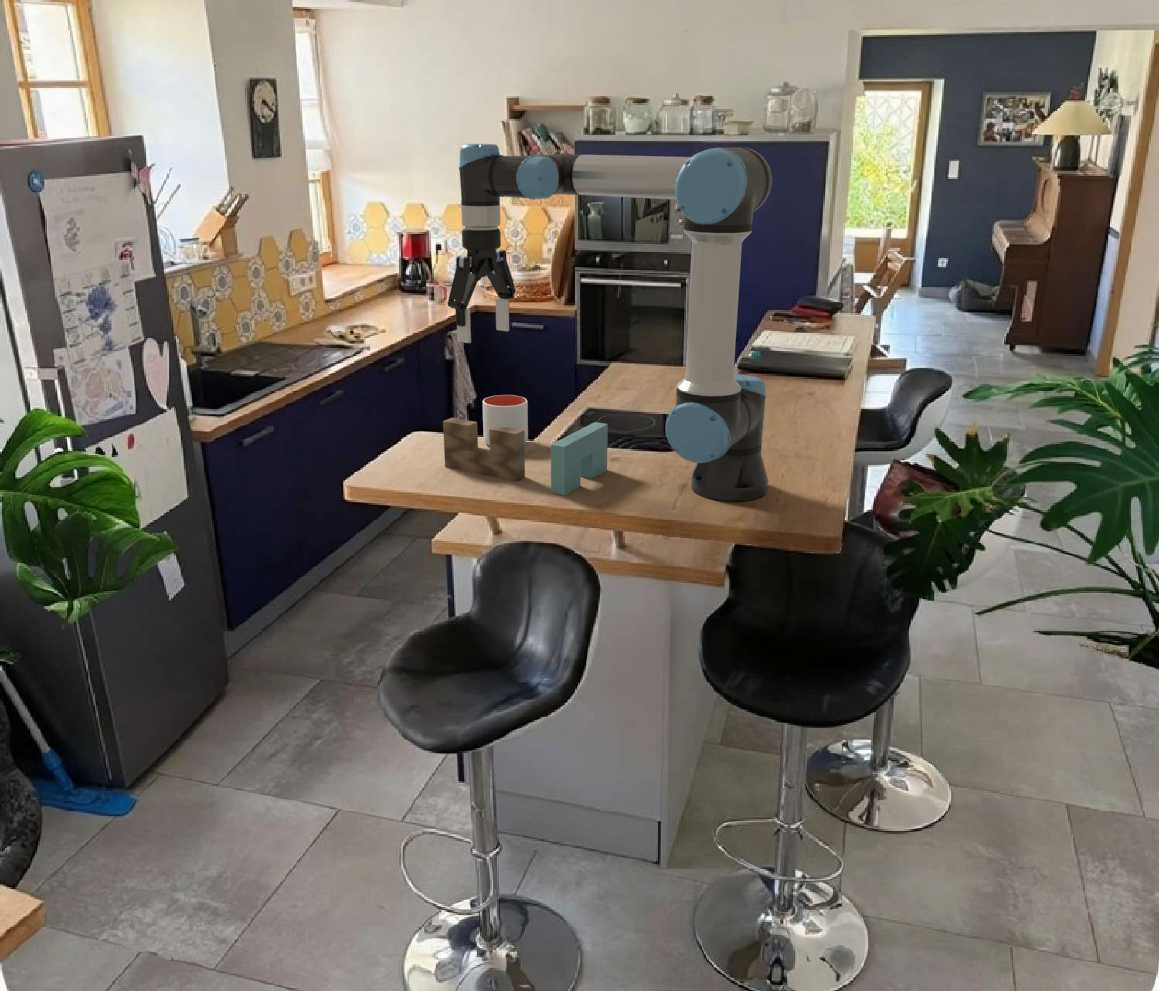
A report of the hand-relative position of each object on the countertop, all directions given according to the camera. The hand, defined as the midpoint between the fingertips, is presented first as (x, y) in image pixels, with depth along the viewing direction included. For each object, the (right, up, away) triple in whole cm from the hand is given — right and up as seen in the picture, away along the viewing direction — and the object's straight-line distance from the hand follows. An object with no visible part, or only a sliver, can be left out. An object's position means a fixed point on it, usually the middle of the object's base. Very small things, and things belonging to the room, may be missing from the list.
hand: (483, 336), depth 205 cm
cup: (+3, -20, +26) cm, 33 cm away
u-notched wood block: (-1, -27, +7) cm, 28 cm away
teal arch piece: (+19, -29, +2) cm, 35 cm away
